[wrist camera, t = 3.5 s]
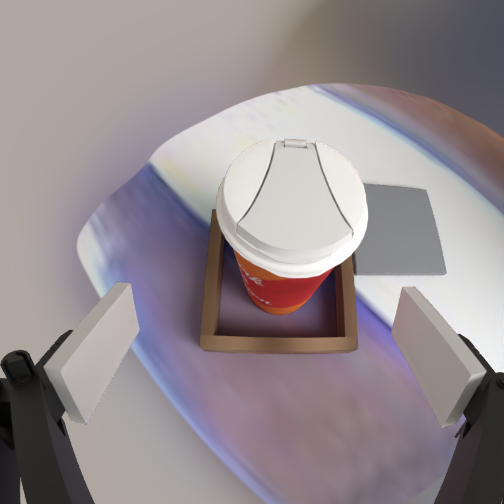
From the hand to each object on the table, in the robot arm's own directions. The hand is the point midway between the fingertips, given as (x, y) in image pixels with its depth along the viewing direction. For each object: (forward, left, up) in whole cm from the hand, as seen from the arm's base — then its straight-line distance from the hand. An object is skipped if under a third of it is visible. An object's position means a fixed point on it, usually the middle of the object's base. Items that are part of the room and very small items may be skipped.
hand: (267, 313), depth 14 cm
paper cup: (-1, -5, -12) cm, 13 cm away
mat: (-13, -11, -11) cm, 21 cm away
